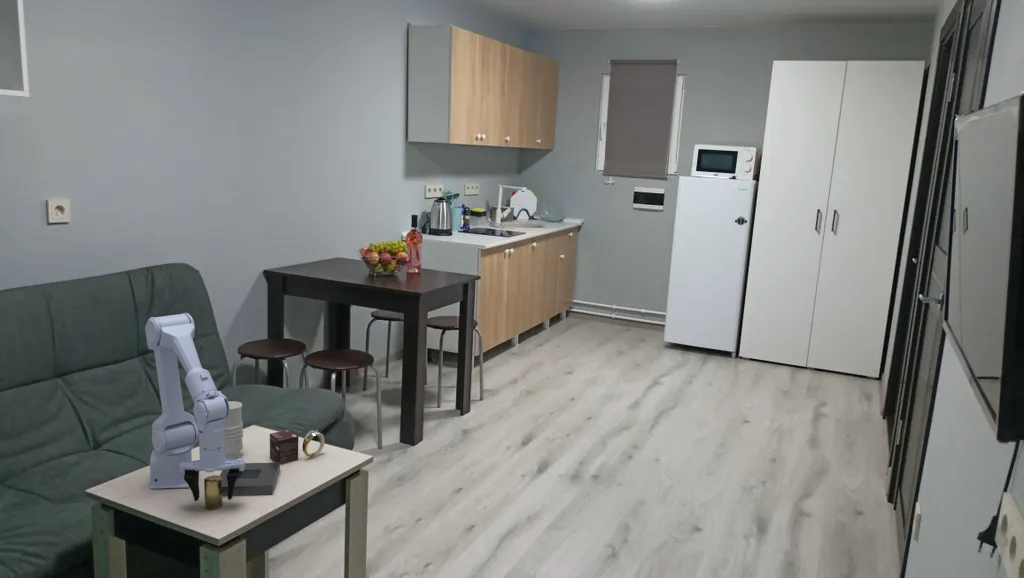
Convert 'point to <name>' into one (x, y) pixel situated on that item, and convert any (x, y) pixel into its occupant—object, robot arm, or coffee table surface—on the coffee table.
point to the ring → (306, 442)
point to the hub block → (247, 486)
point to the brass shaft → (213, 492)
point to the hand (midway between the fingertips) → (213, 498)
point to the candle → (233, 431)
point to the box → (284, 446)
